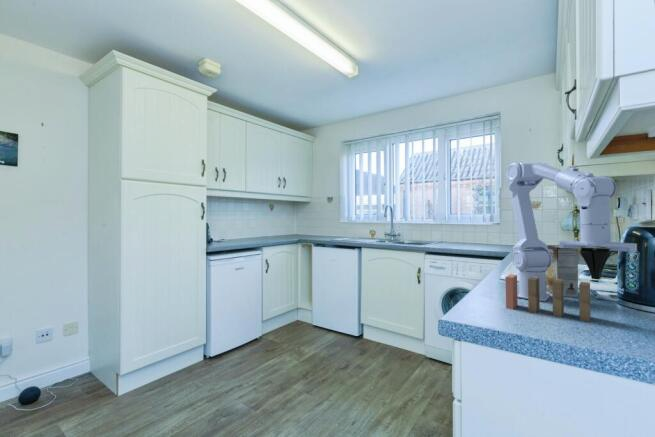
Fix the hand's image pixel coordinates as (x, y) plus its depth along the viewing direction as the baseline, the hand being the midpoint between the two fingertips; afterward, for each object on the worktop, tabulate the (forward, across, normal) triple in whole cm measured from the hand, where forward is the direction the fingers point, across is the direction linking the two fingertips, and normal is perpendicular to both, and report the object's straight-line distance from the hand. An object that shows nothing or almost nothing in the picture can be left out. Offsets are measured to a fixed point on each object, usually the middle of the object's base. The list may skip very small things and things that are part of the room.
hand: (596, 278), depth 76 cm
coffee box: (+11, -15, +25) cm, 31 cm away
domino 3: (+10, -8, -1) cm, 13 cm away
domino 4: (+10, -2, 0) cm, 11 cm away
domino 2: (+10, -13, -2) cm, 17 cm away
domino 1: (+10, -18, -3) cm, 21 cm away
